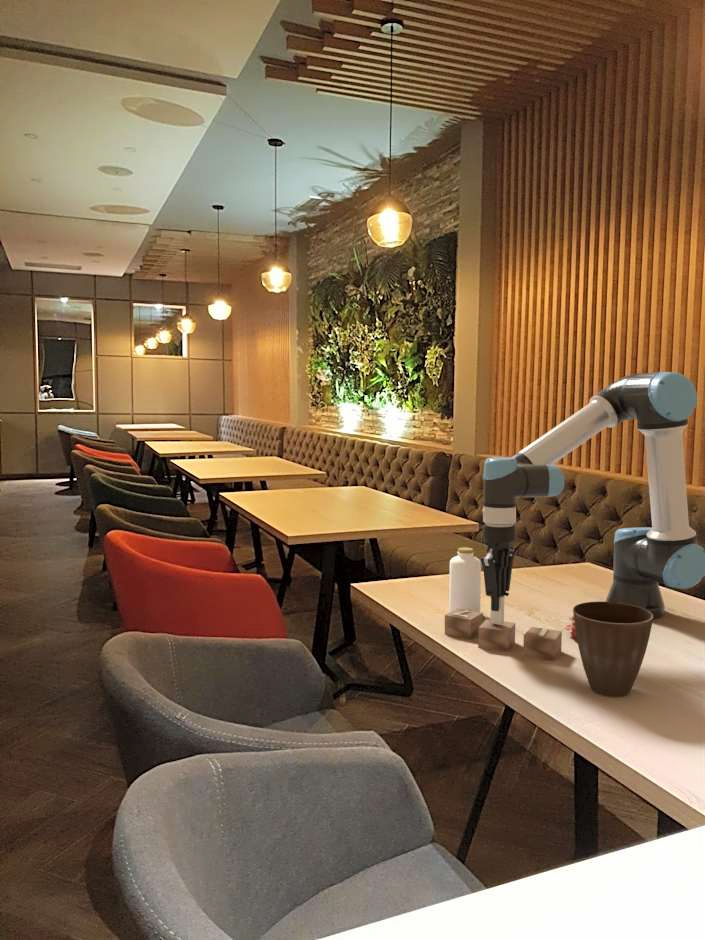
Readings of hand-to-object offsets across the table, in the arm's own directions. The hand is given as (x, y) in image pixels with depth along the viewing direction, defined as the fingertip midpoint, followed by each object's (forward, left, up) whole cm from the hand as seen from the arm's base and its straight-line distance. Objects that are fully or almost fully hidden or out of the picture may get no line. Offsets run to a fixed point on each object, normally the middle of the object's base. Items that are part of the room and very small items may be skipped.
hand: (497, 623), depth 173 cm
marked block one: (-11, +1, -6) cm, 12 cm away
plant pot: (-28, +16, -6) cm, 33 cm away
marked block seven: (+10, -5, -6) cm, 12 cm away
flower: (-17, -15, -6) cm, 23 cm away
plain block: (0, 0, -6) cm, 6 cm away
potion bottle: (+15, -20, -6) cm, 26 cm away
